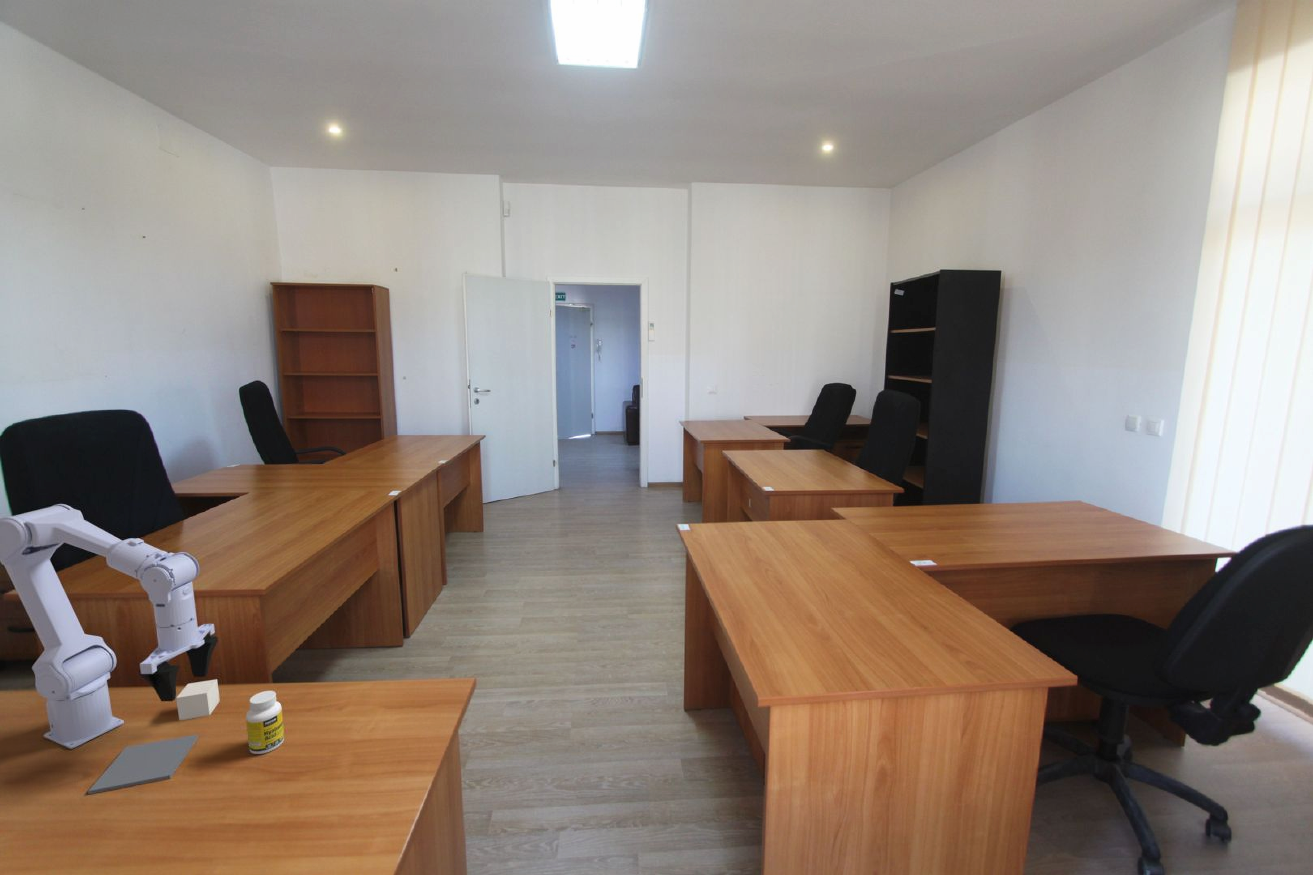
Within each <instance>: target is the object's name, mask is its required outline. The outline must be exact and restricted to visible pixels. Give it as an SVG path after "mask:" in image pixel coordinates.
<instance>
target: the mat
mask: <svg viewBox="0 0 1313 875" xmlns="http://www.w3.org/2000/svg"><path fill="white" fill-rule="evenodd" d="M199 737H200V736H199V734H191V735H186V736H179V737H175V738H170V739H164V740H163V739H162V740H158V741H153V742H146V743H142V744H141V743H140V744H136V745H131V746H125V747H124V749H123V750H122V751H121V752H120V753H119V754H118V756H116V758H115V759H114V760H113V761H112V762H111V764H110V765H109V766H108V767H107V769H105V771H104V772H103V773H102V775H101V776H100V777H98V779H97V780H96V781H95V783H93V785H92V786H91V787H90V789H89V790H88V791H87V793H88V795H93V794H98V793H103V792H108V791H113V790H118V789H123V788H128V787H132V786H133V787H134V786H140V785H144V784H148V783H149V784H150V783H154V782H159V781H163V780H169V779H171V778H172V777H173V775H174V774H175V772H176V770H177V769H178V768H179V766H180V765H181V763H182V762H183V761H184V759H185V758H186V756H187V755H188V753H189V752H190V750H191V749H192V748H193V746H194V744H195V743H196V742H197V740H198V738H199Z"/></svg>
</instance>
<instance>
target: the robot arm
mask: <svg viewBox="0 0 1313 875" xmlns="http://www.w3.org/2000/svg"><path fill="white" fill-rule="evenodd" d="M64 543H65V544H68V545H70V546H73V547H76V548H79V549H83V550H85V551H87V552H91V553H94V554H96V555H99V556H102V557H104V558H106V565H107V566H108V567H110V568H111V569H114V570H117V571H118V572H121V573H123V574H125V575H127V576H130V577H132V578H134V579H136V580H139V582H140V585H141V587H142V589H143V590H144V591H145V592H146V593H147V596H148V600H149V601H150V603H151V604H152V605H153V606H152V607H153V614H154V619H155V620H154V622H155V628H156V637H157V644H158V646H156V648H155V649H154V650H153V651H152V653H150V654H149V656H148V657H146V658H145V659H144V660H143V661H142V662H140V663H139V668H140V669H138V670H139V671H138V672H139V676H140V677H141V678H143V679H144V680H146V682H148V684H150V685H151V687H152V688H153V689H154V691H155V692H156V694H157V696H158V698H159V700H160V702H173V701H175V700H176V698H177V688H176V687H177V684H176V683H177V676H178V672H179V669H180V667H181V666H180V665H171V663H168V662H169V661H171V660H172V659H173V658H175V657H176V656H179V655H180V654H184V653H185V652H186V655H187V657H188V660H189V663H190V669H191V673H192V676H193V678H205V677H207V676H208V672H209V668H210V663H211V658H212V656H213V653H214V650H215V647H216V646H217V644H218V642H219V637H218V636H217V635H216V636H211V635H213V634H215V632H216V631H215V630H216V629H215V624H214V623H203V624H202V625H199V626H198V620H197V619H198V618H197V611H196V610H197V609H196V601H195V595H194V594H195V593H194V587H193V586H194V585H193V581H194V580H195V579H197V577H198V576H199V574H200V565H199V562H198V560H197V559H196V558H195V557H194V556H192V555H190V554H189V553H188V552H185V551H184V552H183V551H180V552H177V553H174V552H169V553H168V551H165V550H162V549H160V548H157V547H155V546H152V545H151V544H148V543H146V542H145V541H144V539H141V538H138V537H137V538H135V537H134V538H132V537H131V538H126V539H123V540H122V539H120V538H118V537H116V536H114V535H113V534H111V533H109V532H108V531H106V530H104V529H102V528H100V527H98V526H96V525H94V524H93V523H91V522H89V521H88V520H85V519H84V516H83V513H82V512H81V510H80V509H79V510H78V509H76V508H73V507H72V506H70V505H67V504H64V503H59V504H58V503H57V504H53V505H51V506H48V507H44V508H40V509H37V510H32V511H28V512H24V513H21V514H16V515H12V516H11V515H10V516H4V517H1V518H0V563H1V565H4V568H5V570H6V572H7V574H8V576H9V578H10V580H11V583H12V584H13V586H14V589H15V591H16V592H17V595H18V597H19V599H20V601H21V603H22V605H23V607H24V609H25V611H26V613H27V615H28V618H29V619H30V622H31V624H32V626H33V628H34V630H35V632H36V633H37V635H38V636H37V637H38V638H39V640H40V642H41V644H42V646H43V648H44V650H43V651H42V652H41V654H40V656H39V657H38V658H37V660H36V661H35V662H34V664H33V665H32V667H31V670H32V671H33V674H34V676H35V679H34V680H35V689H36V691H37V692H38V694H39V696H41V697H42V698H44V699H46V703H45V706H46V714H47V718H48V724H49V730H50V731H47V732H46V733H44V734H43V737H44V738H45V739H48V740H50V741H51V742H55V743H57V744H59V745H62V746H63V747H65V748H67V749H70V750H72V749H75V748H77V747H79V746H81V745H83V744H85V743H86V742H89V741H91V740H93V739H95V738H97V737H99V736H101V735H103V734H105V733H107V732H109V731H112V730H114V729H116V728H117V727H119V726H122V725H123V724H124V723H125V721H124V720H123V719H121V718H118V717H115V716H114V715H113V712H112V707H111V700H110V694H109V687H108V681H107V680H110V678H111V672H112V671H114V670H115V668H116V666H117V657H116V654H115V652H114V651H113V649H111V648H110V647H109V646H108V645H107V643H105V641H104V638H103V637H101V636H98V635H92V634H86V633H85V632H84V629H83V627H82V625H81V624H80V621H79V619H78V616H77V615H76V613H75V611H74V609H73V606H72V604H71V601H70V600H69V598H68V595H67V593H66V591H65V589H64V588H63V585H62V583H61V580H60V579H59V576H58V574H57V573H56V570H55V568H54V566H53V564H52V562H51V558H52V556H53V554H54V553H55V552H56V550H57V549H58V548H60V547H61V546H62V545H63V544H64Z"/></svg>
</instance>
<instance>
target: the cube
mask: <svg viewBox="0 0 1313 875" xmlns="http://www.w3.org/2000/svg"><path fill="white" fill-rule="evenodd" d="M218 685H219V684H218V679H217V678H216V679H210V680H203V681H198V682H191V683H187V684H186V686H184V688H183V689H182V690H181V692H180V693H179V694H178V695H176V698H175V700H176V706H177V712H178V713H177V714H178V720H179V721H185V720H191V719H196V718H201V717H202V718H203V717H207V716H211V714H212V713H213V712H214V711H215V708H216V707H217V706H218V704H219V703H220V701H221V700H220V692H219V686H218Z"/></svg>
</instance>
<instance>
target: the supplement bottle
mask: <svg viewBox="0 0 1313 875" xmlns="http://www.w3.org/2000/svg"><path fill="white" fill-rule="evenodd" d="M248 702H249V709H248V711H247V712H246V714H245V721H246V730H247V731H246V732H247V739H248V750H249V752H250V753H251V754H254V755H261V754H266V753H269V752H272V751H274V750H276V749H277V748H279V747H280V746H281V745H282V744H283V742H284V740H285V732H284V731H285V730H284V729H285V728H284V719H283V708H282V705H281V703H280V702H279V701H277V693H276V692H275V690H266V691H265V690H264V691H261V692H258V693H256V694H254V695H253V696H251V697H250V699H249V701H248Z"/></svg>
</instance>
